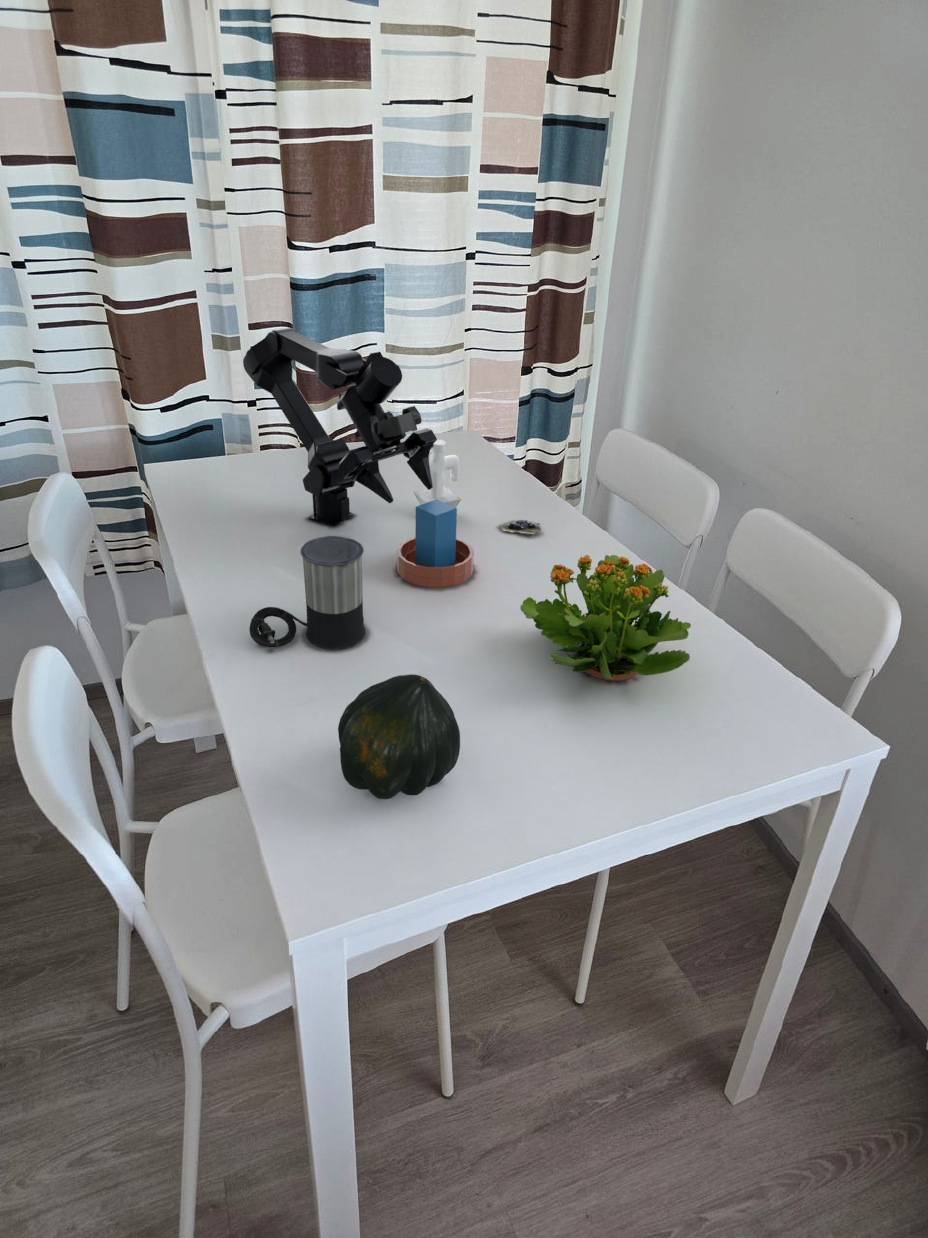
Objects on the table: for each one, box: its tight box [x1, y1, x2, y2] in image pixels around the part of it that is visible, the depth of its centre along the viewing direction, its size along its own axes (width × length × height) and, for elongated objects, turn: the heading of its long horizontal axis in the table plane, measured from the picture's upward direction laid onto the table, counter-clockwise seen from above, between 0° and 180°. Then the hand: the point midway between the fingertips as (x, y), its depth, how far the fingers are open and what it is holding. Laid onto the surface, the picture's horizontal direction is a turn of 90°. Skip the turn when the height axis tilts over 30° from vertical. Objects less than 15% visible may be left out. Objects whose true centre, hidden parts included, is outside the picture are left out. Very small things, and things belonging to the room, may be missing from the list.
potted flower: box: [520, 554, 692, 682], centre depth 123 cm, size 25×24×18 cm
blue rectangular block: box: [415, 499, 458, 567], centre depth 148 cm, size 5×5×12 cm
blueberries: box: [500, 519, 542, 536], centre depth 167 cm, size 7×8×2 cm
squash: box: [337, 674, 461, 800], centre depth 102 cm, size 14×15×15 cm
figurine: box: [413, 438, 462, 508], centre depth 170 cm, size 7×9×15 cm
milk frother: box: [248, 535, 367, 650], centre depth 128 cm, size 14×16×15 cm
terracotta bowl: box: [396, 536, 475, 589], centre depth 151 cm, size 13×13×4 cm
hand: (411, 495), depth 149 cm, fingers open, 9 cm apart
